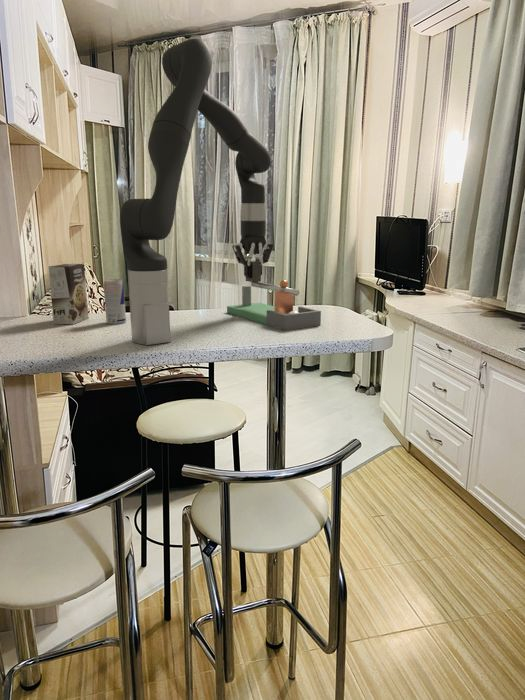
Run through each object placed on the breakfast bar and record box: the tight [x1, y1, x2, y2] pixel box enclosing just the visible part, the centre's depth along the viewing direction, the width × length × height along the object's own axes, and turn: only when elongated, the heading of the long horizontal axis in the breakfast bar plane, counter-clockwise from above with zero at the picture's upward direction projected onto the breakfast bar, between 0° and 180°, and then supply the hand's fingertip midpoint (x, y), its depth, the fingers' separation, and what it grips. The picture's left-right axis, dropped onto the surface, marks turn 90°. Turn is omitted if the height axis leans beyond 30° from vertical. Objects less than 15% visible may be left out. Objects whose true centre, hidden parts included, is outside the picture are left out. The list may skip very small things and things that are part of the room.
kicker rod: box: [245, 260, 300, 314], centre depth 152 cm, size 24×5×14 cm, turn 34°
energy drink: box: [103, 278, 127, 325], centre depth 147 cm, size 5×5×12 cm
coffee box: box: [48, 263, 89, 325], centre depth 148 cm, size 9×6×16 cm
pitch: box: [226, 285, 322, 331], centre depth 153 cm, size 31×12×8 cm, turn 34°
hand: (253, 277), depth 159 cm, fingers closed on kicker rod, 3 cm apart
